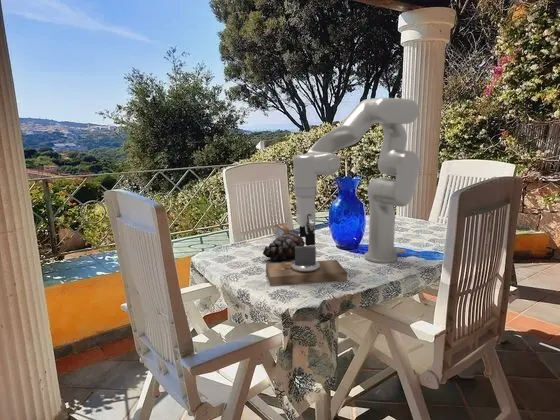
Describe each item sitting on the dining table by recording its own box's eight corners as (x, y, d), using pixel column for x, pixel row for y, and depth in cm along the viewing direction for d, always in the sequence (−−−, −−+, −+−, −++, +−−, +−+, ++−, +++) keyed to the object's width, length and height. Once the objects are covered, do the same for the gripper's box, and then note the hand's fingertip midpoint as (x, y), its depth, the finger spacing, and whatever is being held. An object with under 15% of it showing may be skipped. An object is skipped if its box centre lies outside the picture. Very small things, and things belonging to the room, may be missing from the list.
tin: (292, 248, 173) (292, 229, 172) (285, 249, 172) (285, 230, 170) (279, 239, 187) (279, 221, 185) (273, 240, 186) (273, 222, 184)
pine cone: (259, 261, 157) (259, 236, 155) (290, 250, 170) (289, 227, 168) (279, 267, 150) (278, 241, 148) (309, 256, 163) (309, 231, 161)
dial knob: (318, 262, 145) (318, 242, 144) (321, 272, 135) (321, 251, 134) (284, 262, 145) (284, 243, 144) (284, 272, 135) (284, 251, 134)
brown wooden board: (336, 267, 149) (336, 259, 148) (346, 280, 136) (347, 271, 136) (266, 271, 146) (265, 263, 145) (270, 285, 133) (270, 276, 132)
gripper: (290, 188, 143) (292, 234, 147) (299, 197, 126) (301, 249, 130) (311, 186, 144) (312, 233, 148) (322, 195, 127) (324, 247, 131)
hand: (307, 240), depth 139 cm, fingers open, 9 cm apart
